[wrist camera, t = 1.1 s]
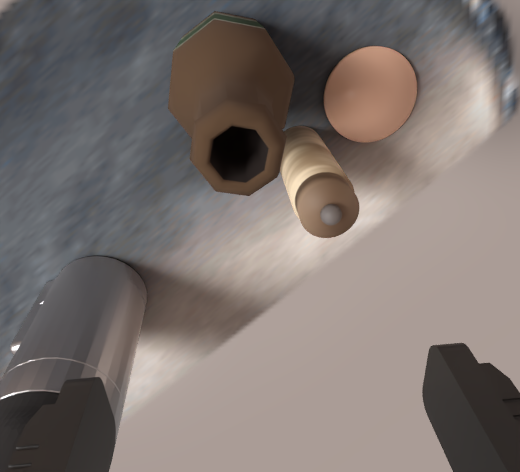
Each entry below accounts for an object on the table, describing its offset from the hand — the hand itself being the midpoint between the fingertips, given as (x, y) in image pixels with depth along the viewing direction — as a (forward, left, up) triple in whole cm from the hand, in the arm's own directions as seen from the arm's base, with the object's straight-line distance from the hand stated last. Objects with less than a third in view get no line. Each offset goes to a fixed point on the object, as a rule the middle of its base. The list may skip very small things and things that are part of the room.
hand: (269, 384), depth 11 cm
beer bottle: (0, +3, -32) cm, 32 cm away
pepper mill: (+4, -6, -32) cm, 33 cm away
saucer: (+11, -3, -32) cm, 34 cm away
